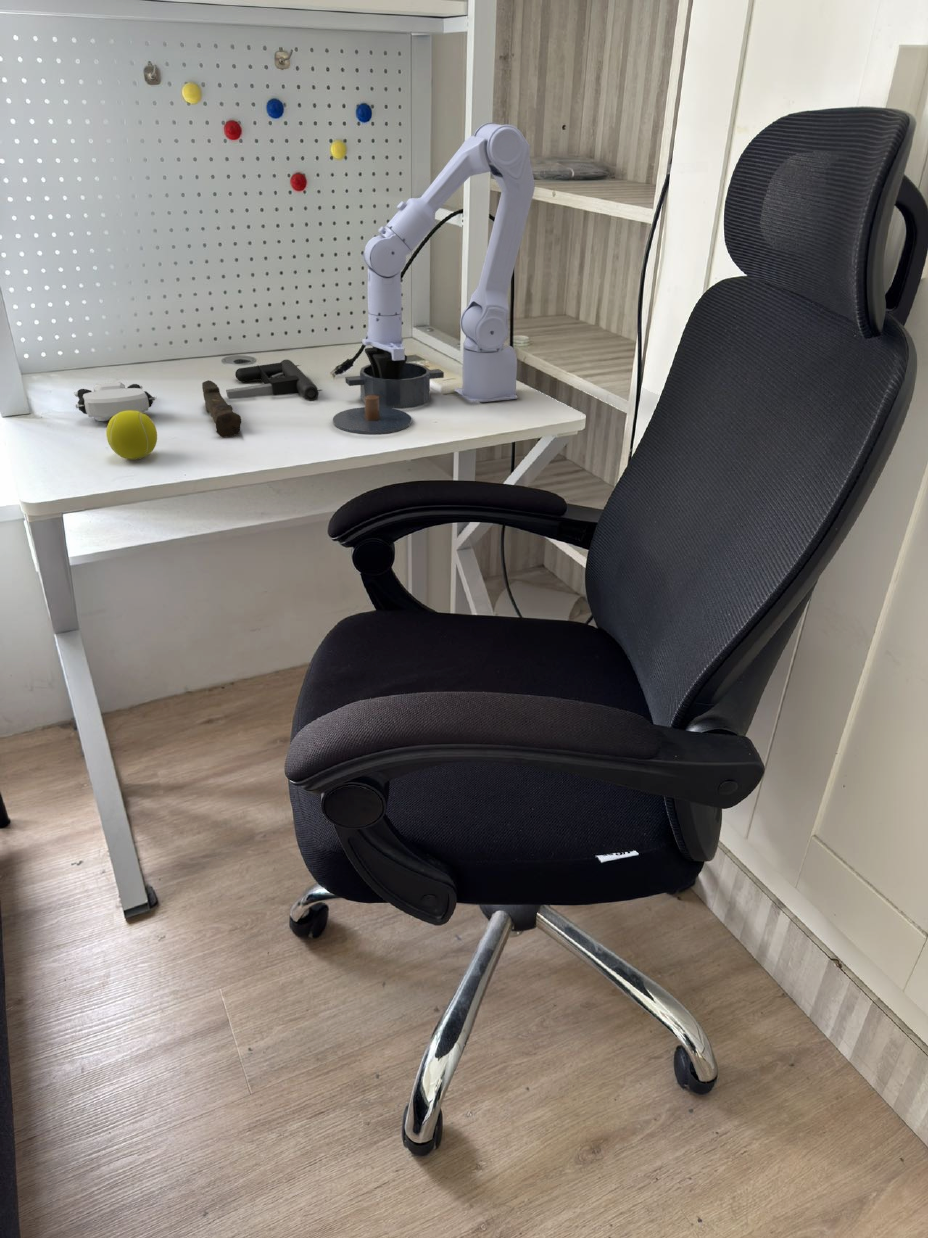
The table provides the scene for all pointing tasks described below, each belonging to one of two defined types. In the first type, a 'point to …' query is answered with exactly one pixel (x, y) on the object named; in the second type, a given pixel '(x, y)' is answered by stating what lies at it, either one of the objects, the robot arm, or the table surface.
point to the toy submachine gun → (274, 381)
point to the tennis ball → (131, 434)
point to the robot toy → (112, 400)
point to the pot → (397, 386)
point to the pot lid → (372, 418)
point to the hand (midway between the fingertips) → (386, 391)
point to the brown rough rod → (220, 411)
